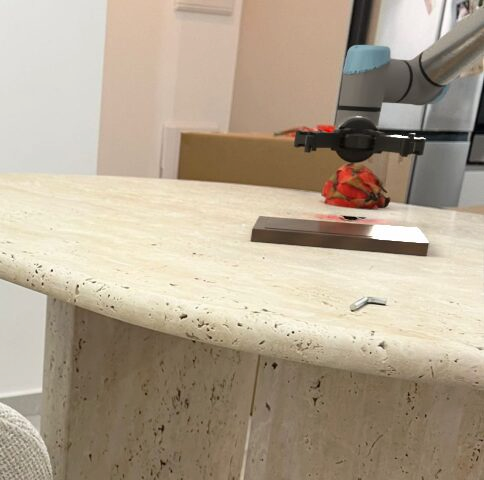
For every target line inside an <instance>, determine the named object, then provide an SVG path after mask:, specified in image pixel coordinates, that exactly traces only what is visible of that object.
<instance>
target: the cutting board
mask: <svg viewBox="0 0 484 480" xmlns="http://www.w3.org/2000/svg"><path fill="white" fill-rule="evenodd" d="M250 235H251V236H250V242H257V243H267V244H268V243H269V244H283V245H292V246H293V245H294V246H302V247H303V246H305V247H316V248H317V247H318V248H327V249H328V248H329V249H339V250H349V251H351V250H352V251H361V252H362V251H364V252H375V253H388V254H399V255H409V256H410V255H412V256H422V257H427V256H428V251H429V246H430V242H429V241H428V240H427V238H426V237H425V235H424V234H423V233H422V231H421V230H420V229H419V228H418V227H408V226H407V227H406V226H396V225H395V226H394V225H381V224H367V223H357V222H356V223H355V222H342V221H329V220H315V219H304V218H292V217H278V216H267V215H259V216H258V218H257V220H256V221H255V223H254V225H253V226H252V229H251V234H250Z"/></svg>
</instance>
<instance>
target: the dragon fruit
mask: <svg viewBox="0 0 484 480" xmlns="http://www.w3.org/2000/svg"><path fill="white" fill-rule="evenodd" d="M383 184H384V183H383V181H382V180H381V179H380V178H379V177H378V175H376V174H374V173H373V171H372V170H371V169H370V168H369V167H367V166H366V165H364V164H359V165H355V163H354V162H353V163H349V162H346V163H344V164H342V166H340V167H339V168H337V170H336V171H334V173H332V174H331V176H330V177H328V178H327V180H326V181H325V182H324V185H323V187H322V191H321V194H320V196H321V197H323V198H324V204H329V205H331V206H335V207H341V208H350V209H366V210H378V209H386V208H387V207H388V206H389V204H390V203H391V197H390V196H388V197H387V196H385V195H384V194H383V193H381V192H384V193H385V194H388V191H387V190H386V189H385V188H384V187H383ZM339 216H340V217H342V218H343V219H344V220H347V221H358V220H360V219H362V220H365V219H367V217H366V216H356V215H355V216H354V215H342V214H341V215H339Z"/></svg>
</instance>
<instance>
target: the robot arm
mask: <svg viewBox="0 0 484 480" xmlns="http://www.w3.org/2000/svg"><path fill="white" fill-rule="evenodd" d="M391 53H392V51H391V48H390V47H389V46H385V45H375V44H374V45H373V44H356V45H355V44H354V45H352V46H351V47H349V49H348V50H347V53H346V57H345V60H344V67H343V68H342V78H341V79H342V80H341V87H340V95H339V101H338V107H337V112H336V117H335V124H334V129H333V131H331V132H328V131H324V130H322V129H319V130H301V129H299V130H295V134H294V140H293V141H294V142H293V147H294V148H298V149H299V148H304V149H303V153H311V152H317V149H330V151H332V152H333V151H334V152H335V153H336V155H337V156H338V157H339V158H340V159H341V160H343V161H345V162H346V163H353V162H354V164H358V163H359V164H360V163H362V162H365V161H367V160H369V159H371V157H372V156H374V154H375V155H378V154H379V155H380V154H382V153H383V152H386V153H395V154H399V156H400V157H402V158H408V156H410V155H416V156H419V157H420V156H424V151H425V148H426V147H425V146H426V141H427V139H426V138H424V137H416V133H415V132H414V133H413V132H408V134H407V136H404V135H403V136H402V135H399V134H393V135H386V133H385V132H384V131H379V130H380V129H379V122H380V117H381V111H382V107H383V104H384V103H385V104H399V105H402V104H403V105H413V106H426V105H434V104H437V103H439V102H441V101H442V100H443V99H445V97H446V94H447V93H448V92H449V90H450V88H451V85H452V82H453V81H454V80H455V79H457V78H458V77H460V76H461V75H463V74H464V73H465V72H467V71H468V70H469V69H471V68H472V67H474V66H475V65H477V64H478V63H480V62H481V61H482V60H484V3H483V4H482V5H481V6H480V7H478V8H477V9H475V10H474V11H473V12H472V13H471V14H469V15H468V16H467V17H465V18H464V19H463V20H462V21H460V22H459V23H458V24H456V25H455V26H454V27H453V28H451V29H450V30H449V31H448V32H446V33H445V34H443V35H442V36H441V37H440V38H439V39H437V40H436V41H435V42H433V43H432V44H431V45H430V46H428V47H427V48H426V49H424V50H422V51H421V52H420V53H419V54H417V55H416V56H415V57H414V58H411V59H398V58H392V57H391Z"/></svg>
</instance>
